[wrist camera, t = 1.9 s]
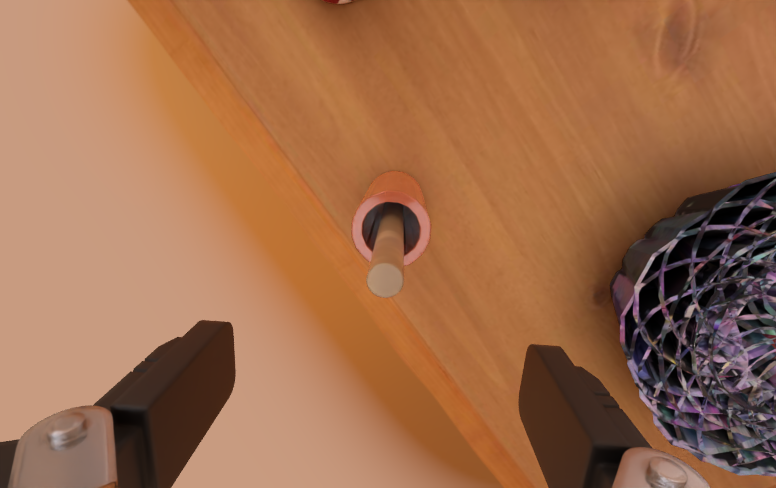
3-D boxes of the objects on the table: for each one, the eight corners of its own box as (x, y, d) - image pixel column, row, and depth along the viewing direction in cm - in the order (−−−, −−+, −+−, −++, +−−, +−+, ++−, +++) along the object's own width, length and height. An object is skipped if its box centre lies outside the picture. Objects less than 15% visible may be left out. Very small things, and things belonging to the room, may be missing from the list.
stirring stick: (385, 207, 36) (365, 297, 17) (386, 190, 36) (367, 261, 17) (402, 209, 36) (402, 299, 17) (404, 191, 36) (405, 264, 17)
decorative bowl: (802, 94, 35) (951, 70, 25) (915, 348, 39) (1082, 412, 29) (534, 245, 39) (571, 274, 30) (659, 459, 43) (728, 546, 33)
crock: (366, 223, 38) (349, 265, 26) (368, 169, 36) (352, 188, 25) (419, 226, 37) (427, 270, 26) (424, 172, 36) (434, 193, 24)
